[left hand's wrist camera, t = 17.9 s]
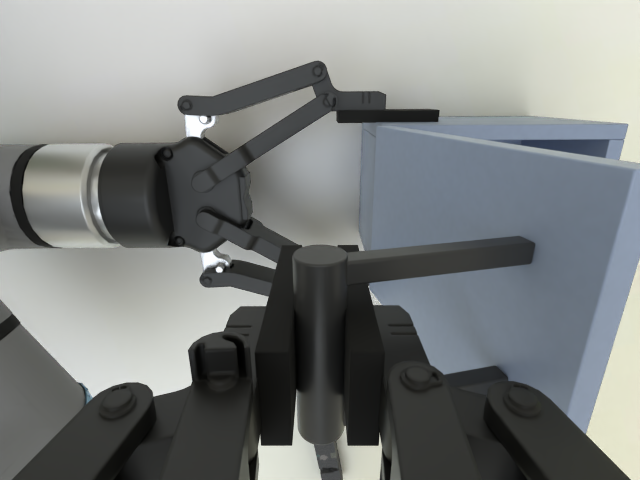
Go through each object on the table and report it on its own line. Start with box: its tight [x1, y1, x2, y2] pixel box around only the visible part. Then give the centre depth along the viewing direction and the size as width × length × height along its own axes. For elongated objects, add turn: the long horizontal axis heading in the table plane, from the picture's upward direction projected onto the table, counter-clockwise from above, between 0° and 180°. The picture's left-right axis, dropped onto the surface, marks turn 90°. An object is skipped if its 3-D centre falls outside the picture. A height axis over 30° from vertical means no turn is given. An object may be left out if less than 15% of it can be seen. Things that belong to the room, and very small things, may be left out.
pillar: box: [314, 441, 343, 480], centre depth 42 cm, size 2×2×20 cm
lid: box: [292, 126, 640, 445], centre depth 16 cm, size 15×10×8 cm
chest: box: [359, 116, 628, 251], centre depth 29 cm, size 14×10×11 cm
